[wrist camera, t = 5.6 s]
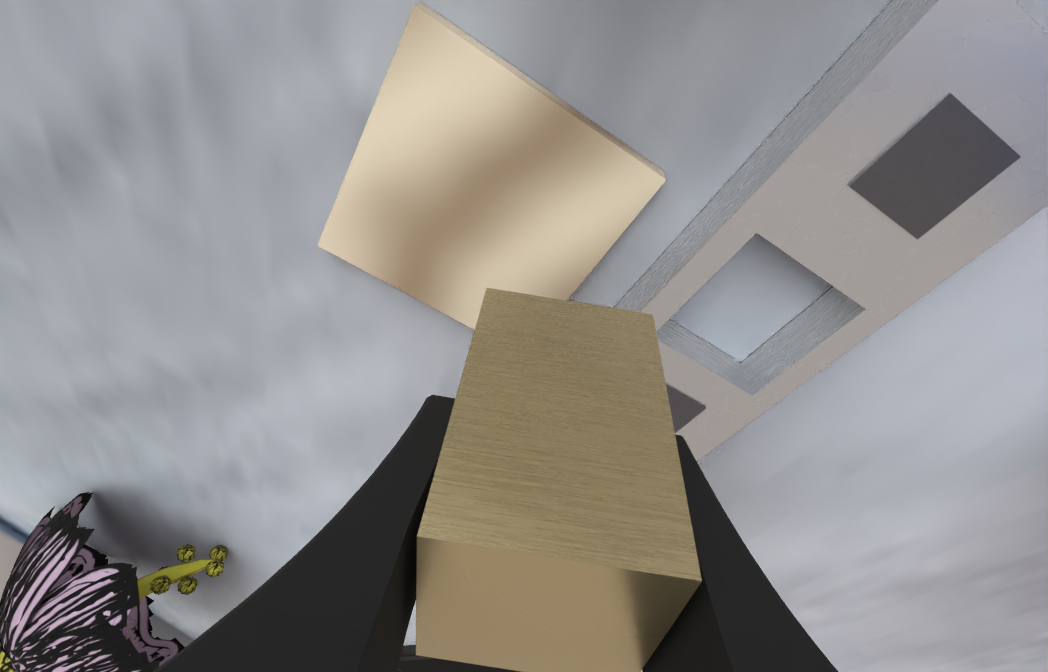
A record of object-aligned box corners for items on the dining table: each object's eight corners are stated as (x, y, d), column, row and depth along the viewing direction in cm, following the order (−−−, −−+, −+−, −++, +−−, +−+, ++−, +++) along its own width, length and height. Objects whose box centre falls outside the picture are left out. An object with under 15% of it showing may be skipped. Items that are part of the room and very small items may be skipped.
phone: (374, 658, 43) (544, 645, 38) (378, 643, 44) (544, 628, 39) (421, 695, 47) (579, 687, 43) (424, 681, 48) (579, 672, 43)
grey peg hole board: (1087, 113, 15) (1148, 134, 14) (670, 442, 25) (676, 478, 24) (931, -42, 14) (979, -39, 12) (549, 378, 24) (546, 411, 22)
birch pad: (663, 171, 17) (666, 179, 17) (523, 343, 22) (521, 355, 22) (421, 2, 15) (414, 5, 15) (325, 235, 20) (317, 245, 20)
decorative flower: (-171, 602, 22) (103, 822, 23) (108, 417, 30) (302, 590, 31) (-64, 614, 33) (120, 765, 34) (121, 477, 41) (265, 603, 42)
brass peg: (613, 428, 15) (629, 688, 10) (474, 405, 15) (415, 655, 10) (652, 314, 12) (702, 581, 7) (486, 287, 12) (416, 536, 7)
